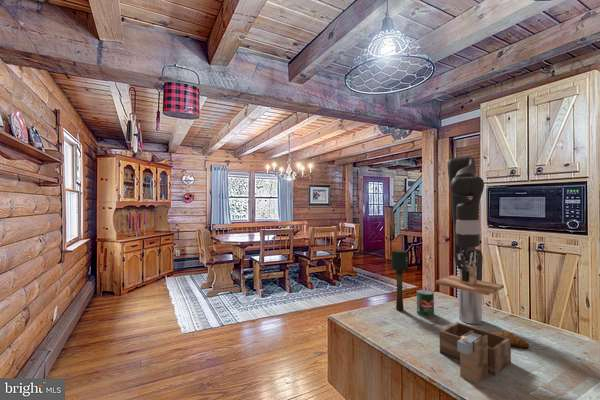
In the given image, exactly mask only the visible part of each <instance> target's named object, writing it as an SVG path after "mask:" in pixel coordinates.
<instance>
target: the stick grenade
mask: <svg viewBox="0 0 600 400" xmlns="http://www.w3.org/2000/svg"><path fill="white" fill-rule="evenodd" d="M390 257H391V260H390V261H391V263H390V264H391V265H390V269H391V270H394V271H395V275H396V276H395V279H396V301H395V310H396V311H399V312H402V311H403V310H405V309H404V300H403V282H404V271H408V270H409V266H408V251H407V250H405V249H393V250H391V251H390Z"/></svg>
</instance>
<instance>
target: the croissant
mask: <svg viewBox="0 0 600 400" xmlns="http://www.w3.org/2000/svg"><path fill="white" fill-rule="evenodd" d="M491 333H494V334H497V335H500V336H503V337H506V338H509V339H511V347H515V348H521V349H529V348H530V345H529V343H528V342H527V341H525V339H523V338H521V337H519V336H517V335H515V334H514V333H513V332H511V331H508V330H505V331H495V332H493V331H492V332H491Z"/></svg>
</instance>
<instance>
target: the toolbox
mask: <svg viewBox="0 0 600 400" xmlns="http://www.w3.org/2000/svg"><path fill="white" fill-rule="evenodd" d="M472 332H473V333H476V334H479V335H482V337H481V338H479V339H478V340H476V341H474V351H473V352H471V353H470V354H468V355H467V354H464V353H462V352H459V351H457V341H458V340H460V339H462V336H467V335H469V334H470V333H472ZM439 354H442V355H444V356H446V357H449V358H452V359H454V360H456V361H458V362H459V374H460V375H459V377H461V378H463V379H464V380H465V379H466V380H468V381H470V382H472V383H474V384H478V383H479V382H480V381H482V380H483V379H484V378H486V377H487V376H488V375H489V374H490V375H492V376H496V375H498V374H499V373H500V372H501V371H503V369H505V368H506V367H507V366H509V365H510V364H511V363H512V346H511V339H509V338H506V337H503V336H500V335H497V334H494V333H492V332H490V331H486V330H484V329H481V328H478V327H475V326H470V325H468V324H465V323H461V322H459V321H456V322H455V323H452V324H451V325H448V326H446V327H445V328H444V327H443V328H442V329H441V330H439Z"/></svg>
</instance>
